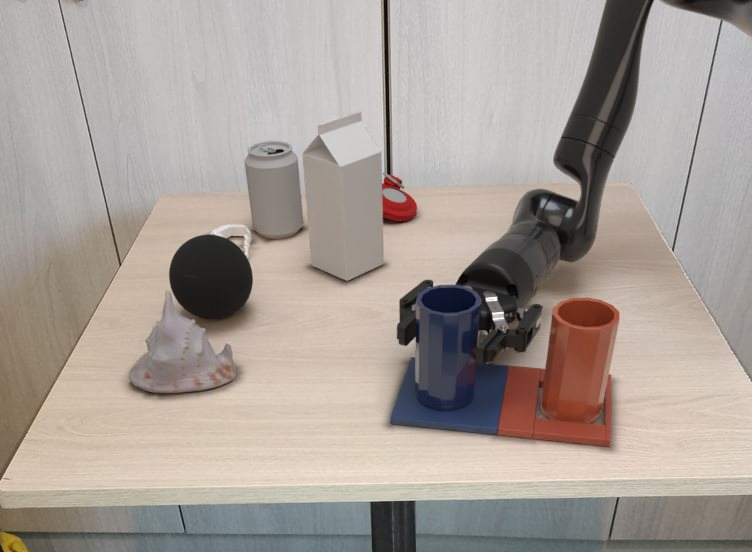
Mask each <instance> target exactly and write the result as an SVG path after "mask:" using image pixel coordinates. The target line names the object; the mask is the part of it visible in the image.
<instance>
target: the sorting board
mask: <svg viewBox="0 0 752 552" xmlns="http://www.w3.org/2000/svg"><path fill="white" fill-rule="evenodd" d="M544 374H545V368H541V367H540V368H539V367H532V366H531V367H530V366H519V365H508V364H497V363H486V364H485V365H484V366H480V365H477V372H476V387H475V395H474V399H473V401H472V402H471V403H470V404H469V405H468V406H466V407H464V408H462V409H459V410H454V411H437V410H433V409H430V408H427V407H425V406H423V405H422V404H421V403H420V402H419V401H418V400H417V398H416V391H415V356H411V357H410V359H409V362H408V365H407V368H406V371H405V373H404V377H403V379H402V382H401V386H400V388H399V391H398V394H397V396H396V400H395V403H394V406H393V409H392V412H391V415H390V418H389V419H390V420H389V422H390V423H389V424H390V425H398V426H408V427H418V428H428V429H436V430H437V429H438V430H445V431H446V430H448V431H455V432H466V433H475V434H485V435H495V436H497V435H498V436H504V437H505V436H506V437H515V438H516V437H517V438H525V439H534V440H541V441H542V440H543V441H551V442H553V441H554V442H560V443H561V442H563V443H573V444H581V445H590V446H592V445H593V446H599V447H601V446H602V447H610V446H611V442H612V374H610V373H609V376H608V381H607V386H606V391H605V396H604V424H600V423H599V424H597V423H579V422H569V421H559V420H551V419H549V418H537V417H536V413H537V403H538V397H539V387H542V388H543V381H544Z"/></svg>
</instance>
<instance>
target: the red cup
mask: <svg viewBox="0 0 752 552" xmlns="http://www.w3.org/2000/svg"><path fill="white" fill-rule="evenodd" d="M620 319H621V318H620V311H619V310H618V309H617V308H616V307H615V306H614V305H613V304H611V303H609V302H606V301H604V300H601V299H597V298H592V297H571V298H567V299H564V300H561V301H559V302H558V303H557V304H555V305H554V306H552V314H551V321H550V329H549V336H548V337H549V338H548V344H547V350H546V351H547V352H546V360H545V367H544V369H545V374H544V381H543V387H542V390H541V397H540V404H539V405H540V411H541V412H542V414H543V415H544V417H546V418H547V419H549V420H559V421H569V422H579V423H589V424H592V422H594V421H596V420H597V419H598V418H599V417H600V415H601V414H602V411H603V406H604V402H605V391H606V386H607V381H608V376H609V374H610V370H611V365H612V360H613V356H614V350H615V345H616V339H617V334H618V330H619V329H618V328H619V324H620Z"/></svg>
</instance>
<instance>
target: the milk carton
mask: <svg viewBox="0 0 752 552" xmlns="http://www.w3.org/2000/svg"><path fill="white" fill-rule="evenodd" d="M362 118H363V117H362V111H361V110H360V111H356V112H353V113H350V114H347V115H344V116H341V117H338V118H335V119H331V120H328V121H326V122H322V123H319V124H317V136H316V137H315V138H313V140H312V141H311V142H310V143H309V144H308V146H307V147H306V148H305V150H304V151H303V152H302V153H301V154H302V155H301V156H302V167H303V168H302V170H303V180H304V192H305V204H306V213H307V214H306V215H307V226H308V227H307V228H308V238H309V251H310V262H311V266H312V267H314V268H317V269H318V270H321V271H323V272H325V273H328V274H329V275H332V276H334V277H336V278H339V279H341V280H343V281H345V282H348V281H350V280H353V279H355V278H357V277H359V276H362V275H363V274H365V273H368V272H370V271H372V270H374V269H376V268H378V267H381V266H383V265H384V264H385V263H384V262H385V260H384V259H385V256H384V254H385V253H384V217H383V205H382V184H383V164H382V162H383V161H382V150H381V148H380V146H379V145H378V143H377V142H376V140H375V138H374V137H373V135H372V134H371V132H370V131H369V129H368V128H367V126H366V125H365V123H364V121H363V119H362Z"/></svg>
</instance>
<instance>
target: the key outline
mask: <svg viewBox="0 0 752 552" xmlns="http://www.w3.org/2000/svg"><path fill="white" fill-rule="evenodd" d="M210 235H217V236H221V237H224V238H226V239H229V238H230V237H232V236H233V237H243V240H244V241H243V242H242V243H243V252H244V254H245V255H246V257H247V259H248V260H250V255H249V253H250V252H249V251H250V247H251V242H253V238H252V232H251V230H250V229H249V228H248V227H247V225H246V224H233V223H231V224H229V223H225V224H223V225H221V226H218V227H217V228H215V229H213V230H212V231H211V232H210Z"/></svg>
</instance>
